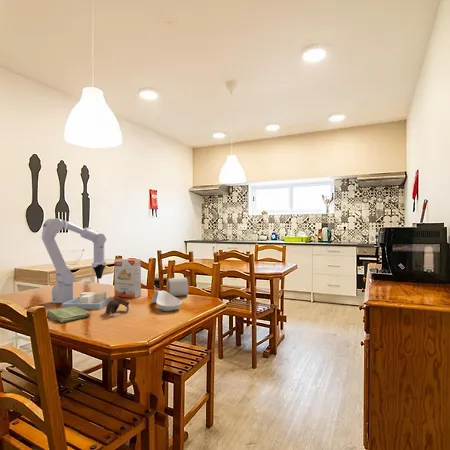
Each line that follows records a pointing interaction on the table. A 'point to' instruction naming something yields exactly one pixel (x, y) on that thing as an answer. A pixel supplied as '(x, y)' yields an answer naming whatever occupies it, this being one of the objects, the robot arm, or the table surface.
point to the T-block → (92, 297)
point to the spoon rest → (166, 301)
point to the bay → (86, 304)
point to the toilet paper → (177, 286)
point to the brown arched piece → (116, 305)
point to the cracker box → (127, 277)
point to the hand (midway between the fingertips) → (99, 278)
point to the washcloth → (67, 314)
